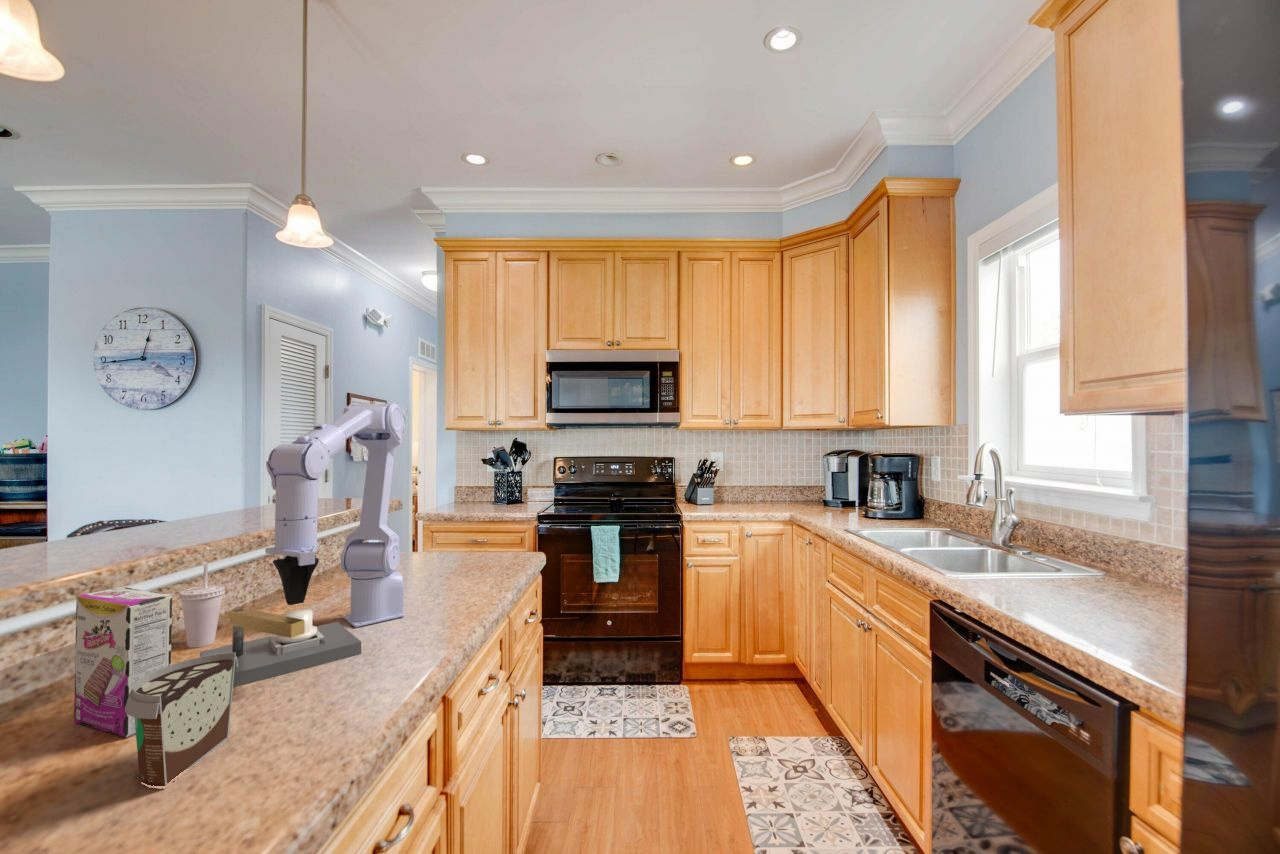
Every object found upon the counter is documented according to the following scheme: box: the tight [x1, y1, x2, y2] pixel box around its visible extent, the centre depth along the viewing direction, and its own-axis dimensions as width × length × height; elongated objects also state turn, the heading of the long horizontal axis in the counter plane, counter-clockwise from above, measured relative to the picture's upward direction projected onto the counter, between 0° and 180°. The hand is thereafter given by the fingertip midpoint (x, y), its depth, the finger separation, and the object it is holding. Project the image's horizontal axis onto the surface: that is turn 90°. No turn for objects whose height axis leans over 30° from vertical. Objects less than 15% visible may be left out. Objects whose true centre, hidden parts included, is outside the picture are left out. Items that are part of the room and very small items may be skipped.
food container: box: [125, 652, 238, 786], centre depth 59 cm, size 12×6×10 cm, turn 5°
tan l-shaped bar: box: [228, 607, 305, 657], centre depth 80 cm, size 15×2×7 cm, turn 67°
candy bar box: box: [73, 586, 173, 738], centre depth 67 cm, size 11×5×16 cm, turn 71°
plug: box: [276, 608, 317, 646], centre depth 88 cm, size 6×6×5 cm
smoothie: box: [178, 563, 226, 649], centre depth 94 cm, size 6×6×14 cm
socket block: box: [199, 621, 362, 688], centre depth 87 cm, size 20×14×3 cm
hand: (295, 603), depth 84 cm, fingers closed
